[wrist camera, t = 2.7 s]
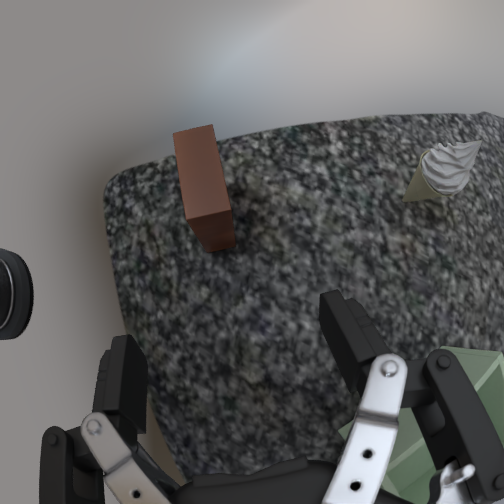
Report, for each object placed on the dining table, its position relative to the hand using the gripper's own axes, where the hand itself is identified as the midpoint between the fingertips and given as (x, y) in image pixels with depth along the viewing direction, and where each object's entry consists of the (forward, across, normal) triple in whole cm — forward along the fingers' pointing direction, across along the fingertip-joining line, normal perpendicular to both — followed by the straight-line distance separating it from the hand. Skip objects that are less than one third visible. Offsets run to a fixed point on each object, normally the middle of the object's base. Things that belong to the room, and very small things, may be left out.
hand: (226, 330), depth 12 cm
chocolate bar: (+19, 0, +4) cm, 20 cm away
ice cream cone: (+18, -22, +6) cm, 29 cm away
